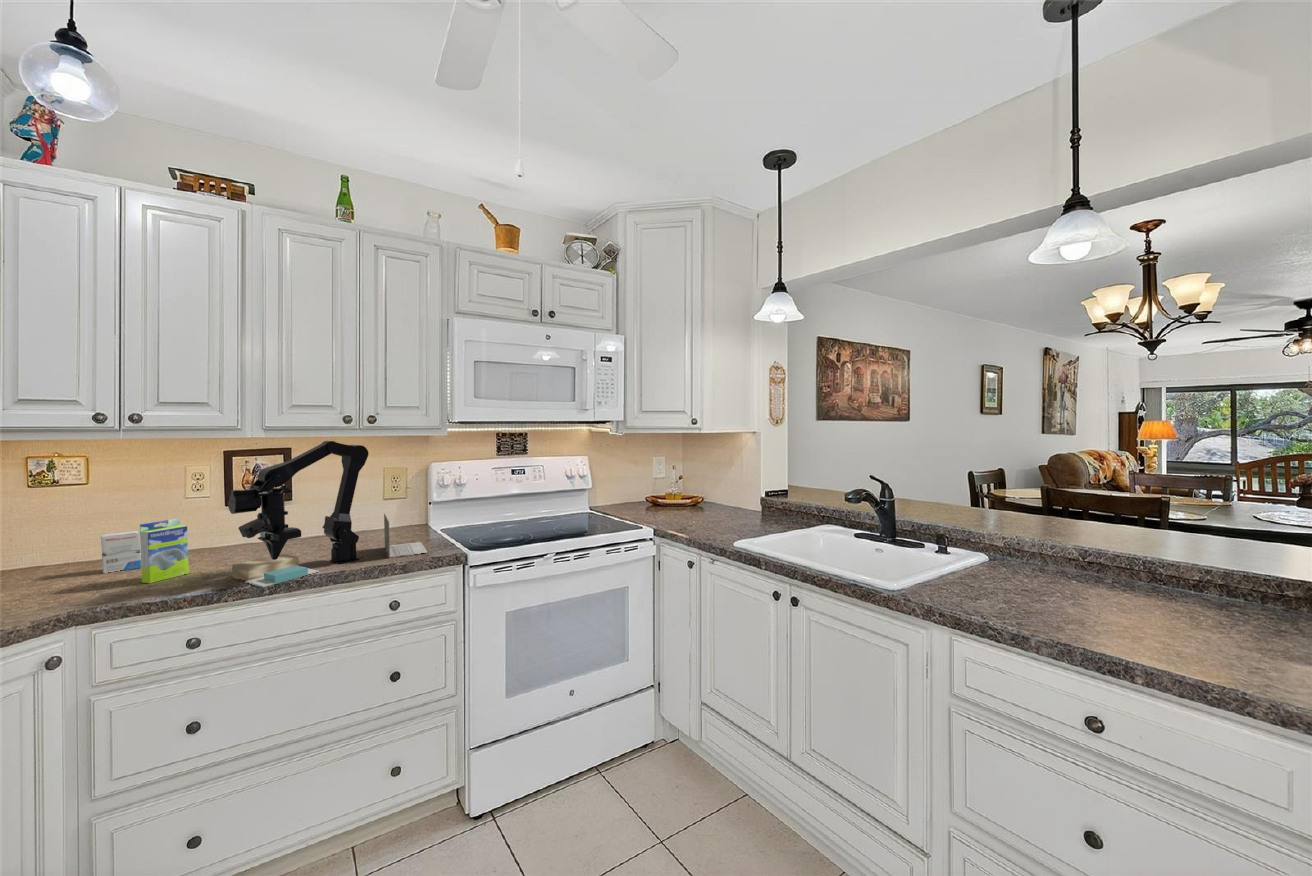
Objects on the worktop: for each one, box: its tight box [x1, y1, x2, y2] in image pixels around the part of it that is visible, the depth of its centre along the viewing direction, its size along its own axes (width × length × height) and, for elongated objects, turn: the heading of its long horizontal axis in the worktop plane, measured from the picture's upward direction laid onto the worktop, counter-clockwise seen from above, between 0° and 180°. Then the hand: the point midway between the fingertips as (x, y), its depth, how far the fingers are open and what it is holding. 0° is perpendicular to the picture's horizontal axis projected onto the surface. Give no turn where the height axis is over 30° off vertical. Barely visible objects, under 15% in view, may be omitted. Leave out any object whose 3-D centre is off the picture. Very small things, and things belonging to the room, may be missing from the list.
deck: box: [231, 553, 300, 581], centre depth 162 cm, size 14×9×4 cm, turn 153°
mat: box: [244, 567, 320, 588], centre depth 158 cm, size 16×9×1 cm, turn 153°
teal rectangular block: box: [264, 565, 309, 583], centre depth 157 cm, size 9×6×2 cm, turn 153°
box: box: [139, 517, 190, 584], centre depth 158 cm, size 10×4×17 cm, turn 163°
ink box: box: [100, 530, 142, 574], centre depth 167 cm, size 9×5×12 cm, turn 134°
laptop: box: [383, 513, 428, 559], centre depth 190 cm, size 18×12×13 cm
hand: (274, 559), depth 160 cm, fingers closed
